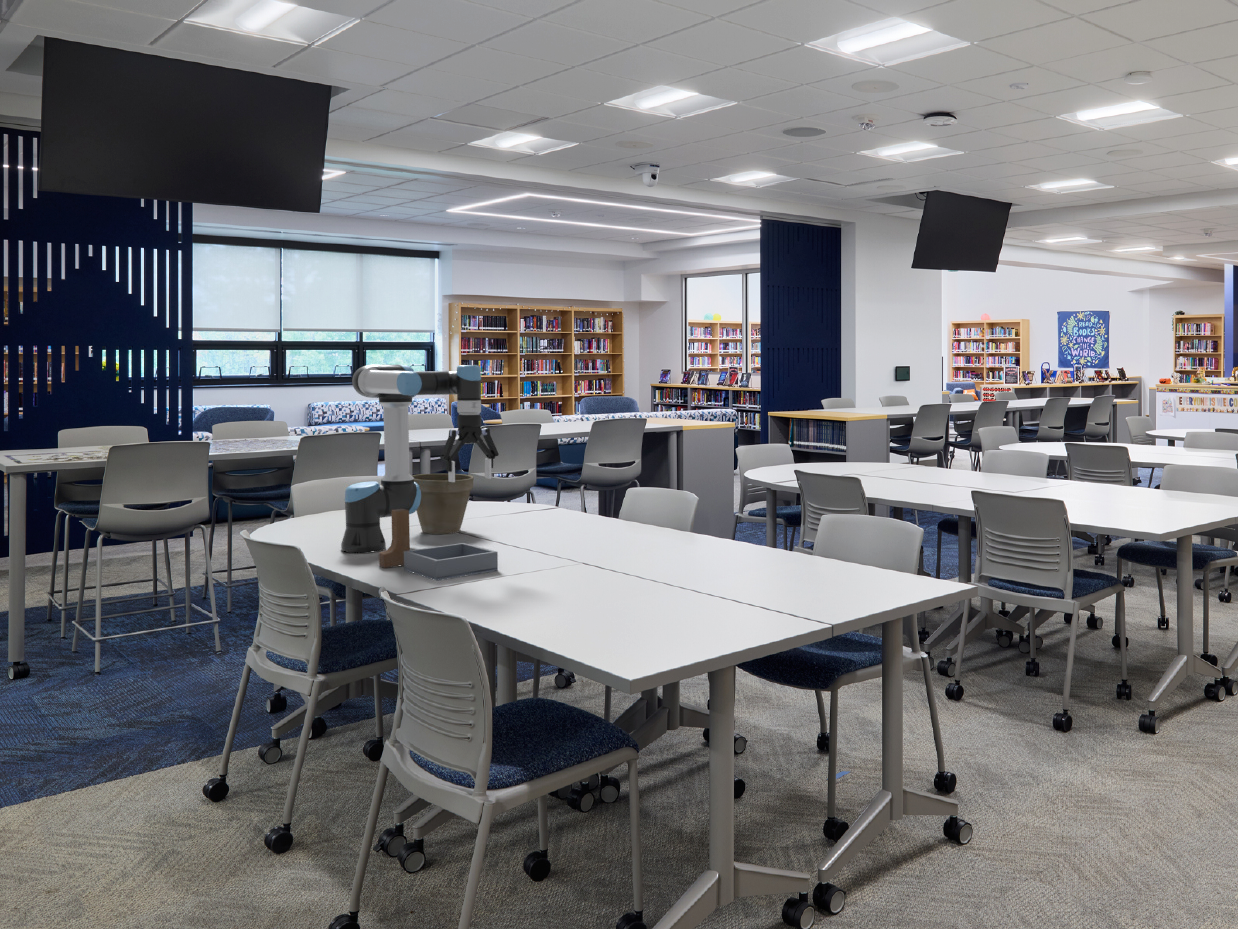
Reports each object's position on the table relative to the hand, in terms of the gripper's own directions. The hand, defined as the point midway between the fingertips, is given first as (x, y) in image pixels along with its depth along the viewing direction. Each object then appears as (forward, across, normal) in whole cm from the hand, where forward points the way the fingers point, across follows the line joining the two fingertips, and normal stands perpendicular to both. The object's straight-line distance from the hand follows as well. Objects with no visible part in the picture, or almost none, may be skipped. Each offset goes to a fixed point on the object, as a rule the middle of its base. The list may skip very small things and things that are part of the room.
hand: (470, 480), depth 306 cm
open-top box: (+28, -8, -1) cm, 29 cm away
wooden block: (+28, -18, +17) cm, 38 cm away
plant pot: (+28, +26, +63) cm, 74 cm away
